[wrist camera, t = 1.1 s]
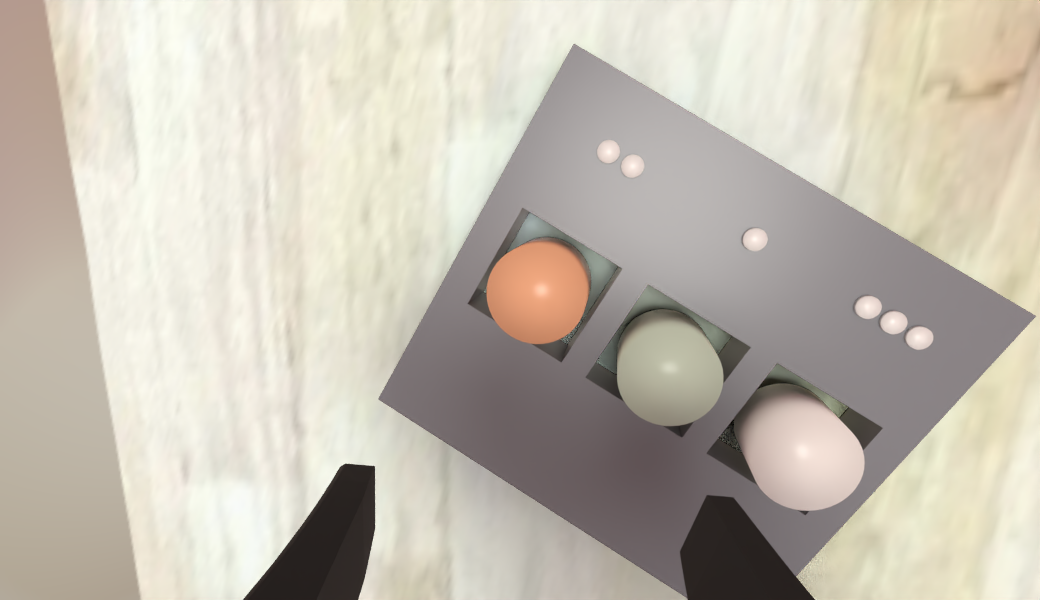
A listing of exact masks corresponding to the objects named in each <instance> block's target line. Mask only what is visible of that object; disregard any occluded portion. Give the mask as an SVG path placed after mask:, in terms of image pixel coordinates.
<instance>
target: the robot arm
mask: <svg viewBox="0 0 1040 600" xmlns="http://www.w3.org/2000/svg"><path fill="white" fill-rule="evenodd" d="M374 531H375V466H366V465H354V464H344V465H343V466H341V467H340V468H339V470H338V471H337V473H336V475H335V477H334V478H333V480H332V481H331V483H330V485H329V486H328V488H327V489H326V491H325V492H324V494H323V496H322V497H321V499H320V500H319V502H318V503H317V504H316V506H315V507H314V509H313V510H312V512H311V513H310V515H309V516H308V517H307V519H306V520H305V522H304V523H303V524H302V526H301V527H300V529H299V530H298V531H297V533H296V534H295V535H294V537H293V538H292V539H291V541H290V542H289V543H288V544H287V546H286V547H285V548H284V550H283V551H282V552H281V554H280V555H279V556H278V558H277V559H276V560H275V562H274V563H273V564H272V565H271V567H270V568H269V569H268V570H267V571H266V573H265V574H264V575H263V576H262V578H261V579H260V580H259V581H258V582H257V584H256V585H255V586H254V587H253V588H252V590H251V591H250V592H249V593H248V594H247V596H246V597H245V598H244V599H243V600H358V598H359V595H360V592H361V588H362V585H363V582H364V579H365V574H366V569H367V565H368V560H369V555H370V551H371V546H372V541H373V536H374ZM680 557H681V564H682V570H683V576H684V582H685V587H686V592H687V598H688V600H815V599H814V598H813V597H812V596H811V595H810V593H809V592H808V591H807V590H806V588H805V587H804V586H803V585H802V584H801V582H800V581H799V580H798V579H797V577H796V576H795V575H794V574H793V572H792V571H791V570H790V569H789V567H788V566H787V565H786V564H785V562H784V561H783V560H782V559H781V557H780V556H779V555H778V554H777V552H776V551H775V550H774V548H773V547H772V546H771V545H770V543H769V542H768V541H767V540H766V538H765V537H764V536H763V534H762V533H761V532H760V531H759V529H758V528H757V527H756V525H755V524H754V523H753V521H752V520H751V519H750V518H749V516H748V515H747V514H746V512H745V511H744V510H743V509H742V507H741V506H740V505H739V504H738V502H737V501H736V500H735V498H734V497H725V496H714V495H706V498H705V500H704V502H703V504H702V506H701V508H700V510H699V512H698V514H697V516H696V518H695V521H694V523H693V525H692V527H691V529H690V531H689V533H688V535H687V537H686V539H685V541H684V544H683V546H682V548H681V550H680Z"/></svg>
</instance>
